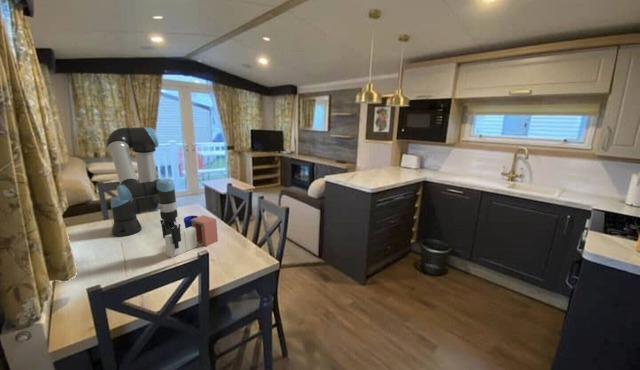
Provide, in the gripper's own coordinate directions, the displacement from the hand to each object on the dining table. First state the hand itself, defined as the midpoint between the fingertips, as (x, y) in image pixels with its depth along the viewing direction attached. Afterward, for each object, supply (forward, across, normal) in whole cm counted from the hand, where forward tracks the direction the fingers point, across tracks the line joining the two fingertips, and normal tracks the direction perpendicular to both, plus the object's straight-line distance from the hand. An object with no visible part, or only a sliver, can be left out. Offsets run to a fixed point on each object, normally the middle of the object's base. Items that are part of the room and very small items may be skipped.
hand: (173, 252), depth 145 cm
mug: (+2, -15, +24) cm, 28 cm away
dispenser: (+2, 0, +19) cm, 19 cm away
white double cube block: (+2, 0, +5) cm, 5 cm away
